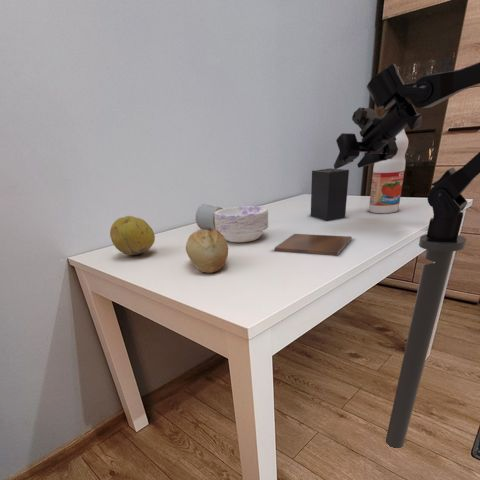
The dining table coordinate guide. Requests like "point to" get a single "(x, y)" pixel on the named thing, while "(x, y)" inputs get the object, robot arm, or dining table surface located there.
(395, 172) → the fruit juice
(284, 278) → the dining table surface
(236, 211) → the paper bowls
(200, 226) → the ceramic mug
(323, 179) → the toaster
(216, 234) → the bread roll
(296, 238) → the board
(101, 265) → the dining table surface
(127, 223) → the fruit
